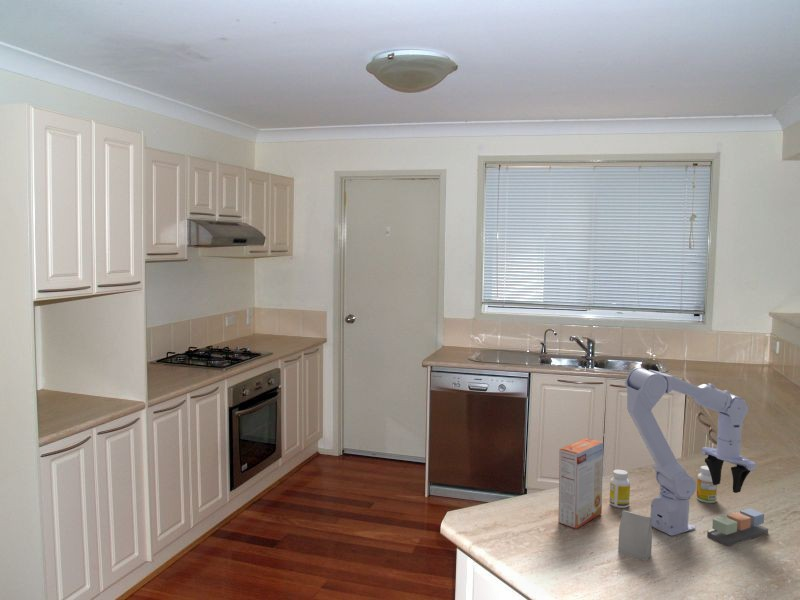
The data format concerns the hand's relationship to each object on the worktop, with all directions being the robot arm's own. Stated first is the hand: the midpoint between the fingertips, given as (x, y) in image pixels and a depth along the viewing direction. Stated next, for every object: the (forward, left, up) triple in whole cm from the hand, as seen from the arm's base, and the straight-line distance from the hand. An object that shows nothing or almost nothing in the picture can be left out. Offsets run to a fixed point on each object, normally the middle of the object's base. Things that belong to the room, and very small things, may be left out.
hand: (726, 488), depth 173 cm
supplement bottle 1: (-16, +22, -10) cm, 29 cm away
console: (-3, -6, -10) cm, 12 cm away
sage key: (-8, -6, -7) cm, 13 cm away
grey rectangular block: (-35, -1, -10) cm, 36 cm away
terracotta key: (-3, -6, -7) cm, 10 cm away
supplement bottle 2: (+10, +13, -10) cm, 19 cm away
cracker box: (-33, +20, -10) cm, 40 cm away
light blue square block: (+2, -6, -7) cm, 10 cm away
